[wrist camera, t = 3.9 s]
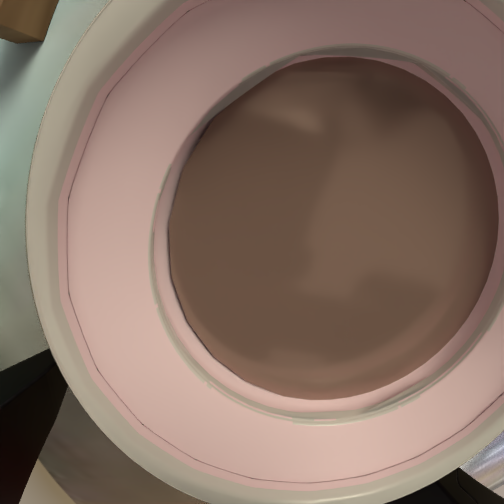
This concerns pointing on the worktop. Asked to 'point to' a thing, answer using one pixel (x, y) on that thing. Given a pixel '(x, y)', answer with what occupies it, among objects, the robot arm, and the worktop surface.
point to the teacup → (278, 241)
